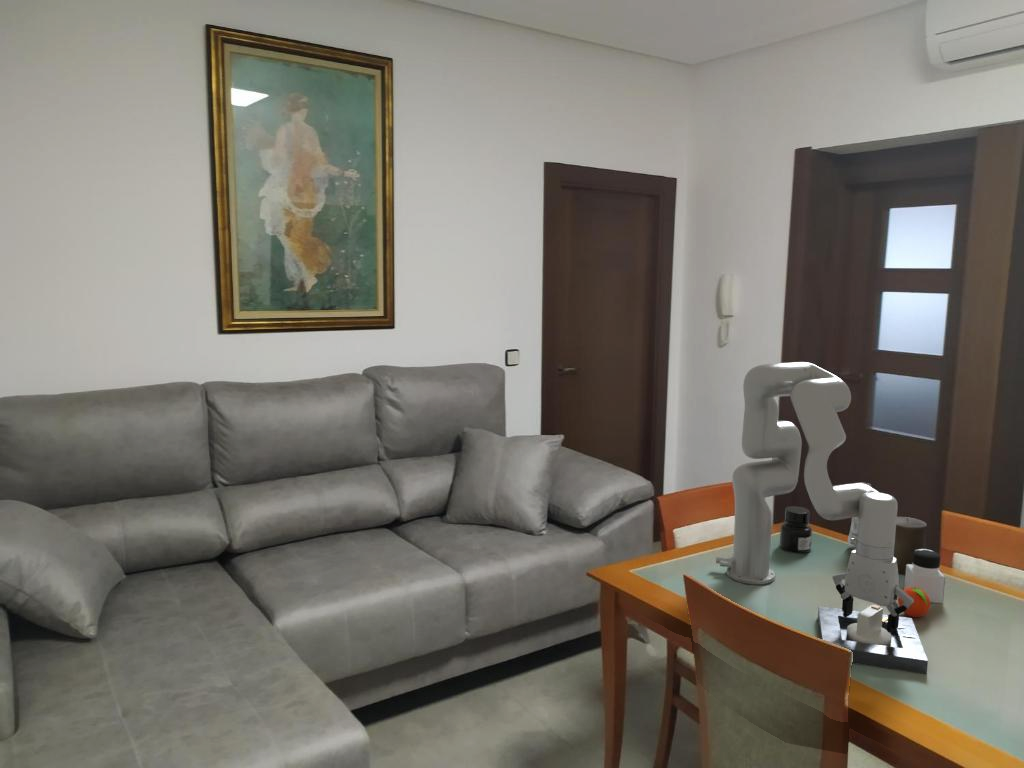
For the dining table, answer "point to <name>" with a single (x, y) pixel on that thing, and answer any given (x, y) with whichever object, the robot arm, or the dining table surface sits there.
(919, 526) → the pillar candle
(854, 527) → the plastic bottle
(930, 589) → the medicine bottle
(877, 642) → the dial knob
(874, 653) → the dial plate
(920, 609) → the clementine
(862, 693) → the dining table surface
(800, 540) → the ink bottle
